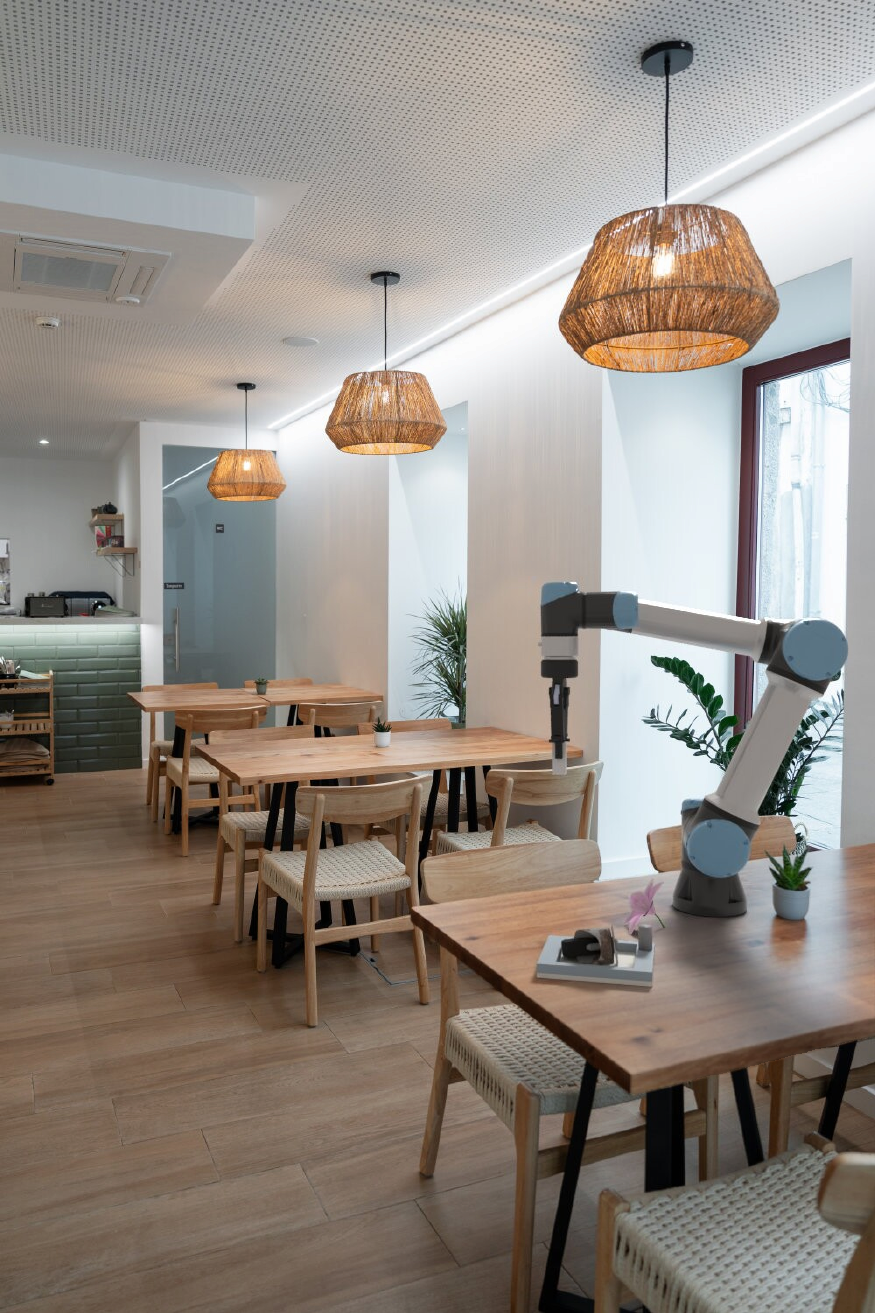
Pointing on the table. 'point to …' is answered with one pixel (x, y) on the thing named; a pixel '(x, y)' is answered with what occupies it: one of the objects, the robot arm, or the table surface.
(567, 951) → the caster wheel
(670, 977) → the table surface
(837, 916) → the table surface
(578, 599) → the robot arm
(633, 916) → the lily
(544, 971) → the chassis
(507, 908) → the table surface
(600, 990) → the table surface
